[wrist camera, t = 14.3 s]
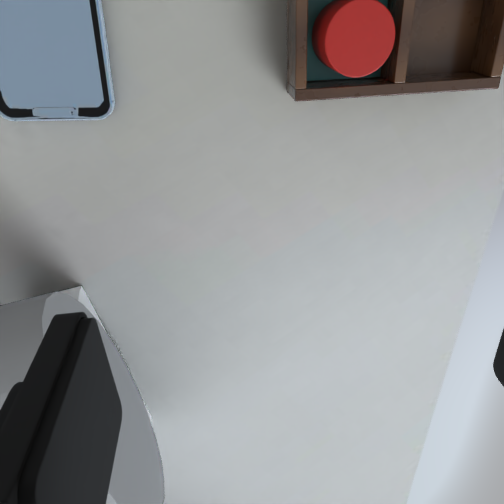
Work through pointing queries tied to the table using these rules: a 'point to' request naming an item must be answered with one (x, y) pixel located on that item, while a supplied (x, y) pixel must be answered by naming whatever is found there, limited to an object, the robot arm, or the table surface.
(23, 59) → the smartphone
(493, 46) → the grid
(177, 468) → the table surface
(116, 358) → the alarm clock
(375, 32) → the red cylinder
